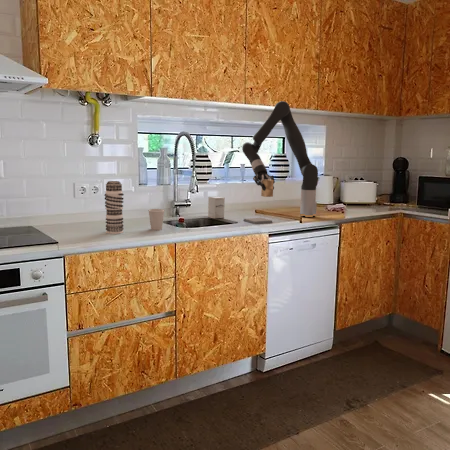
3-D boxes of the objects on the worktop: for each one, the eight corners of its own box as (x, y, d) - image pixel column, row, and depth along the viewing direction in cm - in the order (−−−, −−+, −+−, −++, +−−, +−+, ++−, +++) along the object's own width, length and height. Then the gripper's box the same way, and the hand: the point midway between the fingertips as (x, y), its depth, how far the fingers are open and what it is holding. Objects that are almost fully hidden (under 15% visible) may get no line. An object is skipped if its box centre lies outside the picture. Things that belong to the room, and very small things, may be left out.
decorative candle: (119, 230, 235) (118, 180, 232) (127, 232, 228) (126, 181, 224) (102, 231, 230) (101, 180, 226) (109, 234, 223) (108, 182, 219)
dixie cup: (145, 228, 240) (144, 209, 238) (157, 227, 246) (157, 208, 245) (155, 231, 234) (155, 211, 233) (168, 229, 241) (168, 210, 239)
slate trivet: (260, 219, 280) (261, 217, 280) (272, 222, 269) (272, 220, 269) (243, 220, 274) (243, 218, 274) (254, 223, 264) (254, 221, 263)
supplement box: (214, 218, 280) (214, 197, 278) (207, 217, 286) (208, 196, 284) (224, 217, 285) (224, 197, 283) (217, 216, 291) (217, 196, 289)
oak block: (268, 195, 283) (268, 179, 281) (272, 196, 279) (273, 179, 277) (261, 196, 281) (261, 179, 279) (265, 196, 276) (266, 180, 275)
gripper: (251, 164, 280) (261, 185, 271) (271, 164, 287) (281, 185, 278) (246, 172, 285) (256, 194, 277) (266, 172, 292) (276, 193, 283)
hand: (269, 189), depth 277 cm, fingers closed on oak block, 5 cm apart
